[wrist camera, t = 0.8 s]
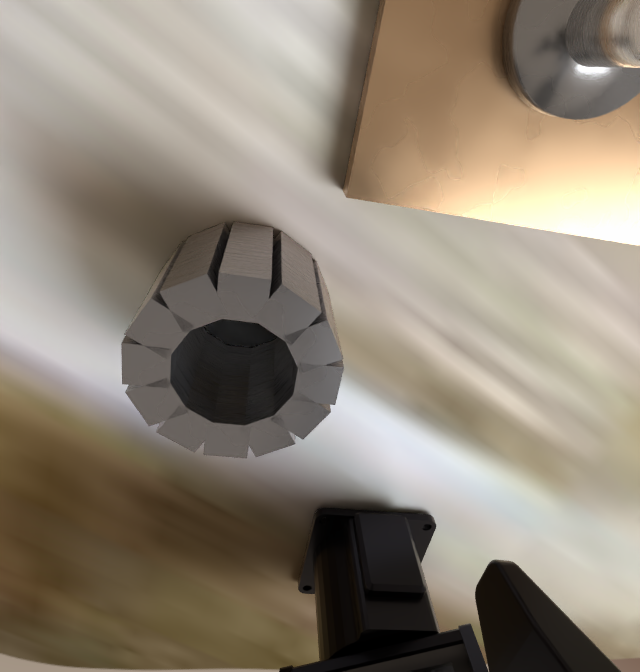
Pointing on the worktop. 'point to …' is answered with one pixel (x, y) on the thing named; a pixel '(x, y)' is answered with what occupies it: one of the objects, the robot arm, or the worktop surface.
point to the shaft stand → (505, 113)
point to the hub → (234, 361)
